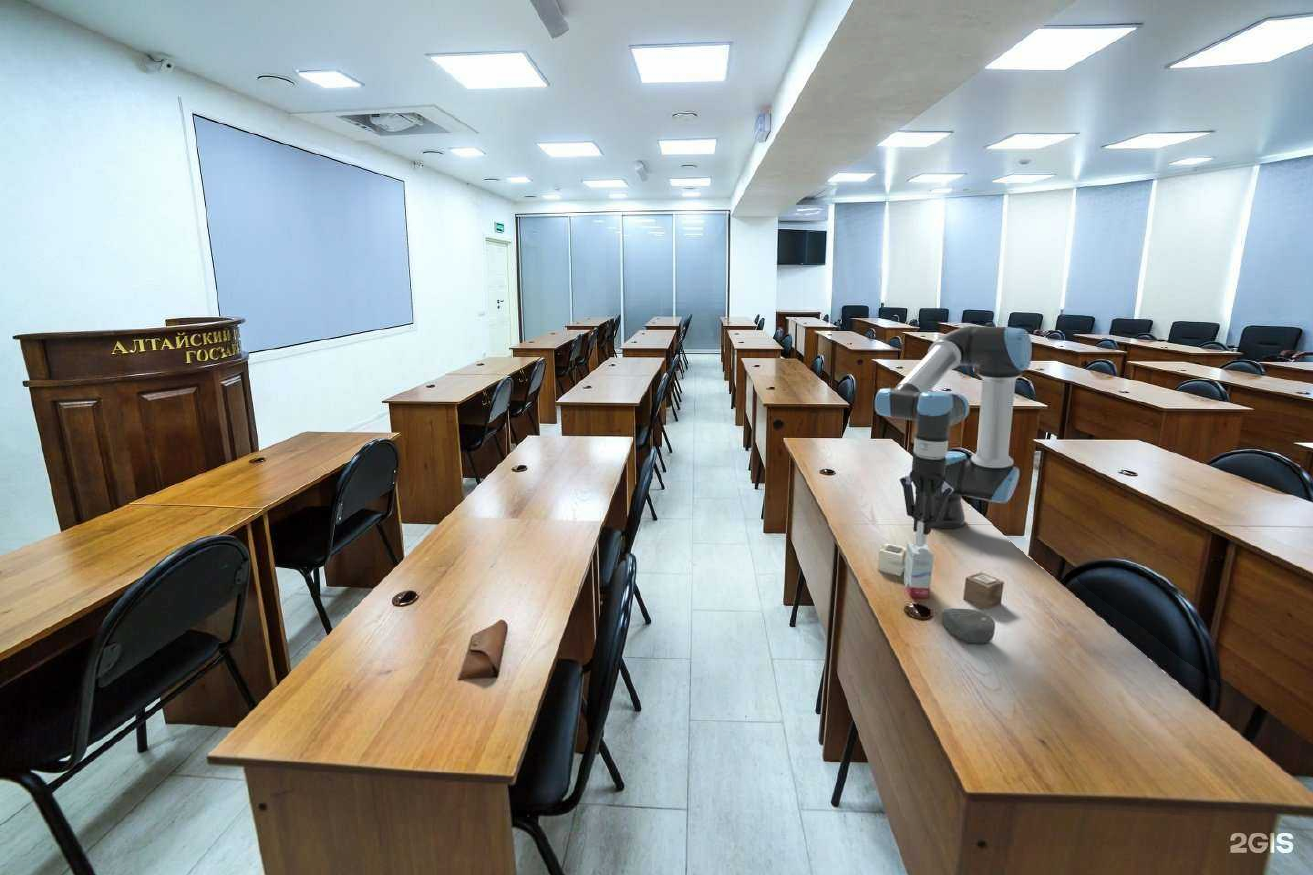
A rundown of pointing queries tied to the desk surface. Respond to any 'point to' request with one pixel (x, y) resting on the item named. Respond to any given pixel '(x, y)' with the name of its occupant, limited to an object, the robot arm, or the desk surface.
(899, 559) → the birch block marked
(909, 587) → the ink box
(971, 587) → the walnut block marked
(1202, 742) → the desk surface
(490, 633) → the sunglasses case
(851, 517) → the desk surface
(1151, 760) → the desk surface
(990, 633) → the stone
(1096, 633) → the desk surface
